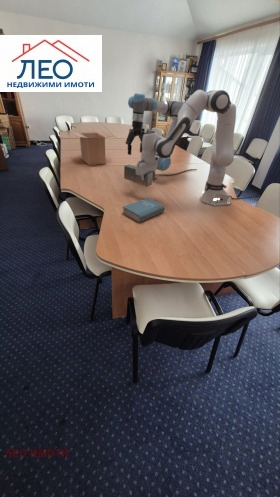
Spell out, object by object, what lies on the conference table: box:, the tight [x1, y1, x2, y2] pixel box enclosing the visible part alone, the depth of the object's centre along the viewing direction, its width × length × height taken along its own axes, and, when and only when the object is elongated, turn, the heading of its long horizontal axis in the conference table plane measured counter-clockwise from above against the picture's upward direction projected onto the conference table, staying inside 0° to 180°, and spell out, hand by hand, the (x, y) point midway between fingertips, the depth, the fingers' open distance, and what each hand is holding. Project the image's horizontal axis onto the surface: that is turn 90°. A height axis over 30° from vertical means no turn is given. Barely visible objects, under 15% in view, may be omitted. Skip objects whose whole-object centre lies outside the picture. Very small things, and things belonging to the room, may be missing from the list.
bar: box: [123, 164, 153, 188], centre depth 159 cm, size 22×5×10 cm, turn 51°
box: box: [70, 129, 114, 166], centre depth 229 cm, size 44×36×27 cm
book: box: [122, 197, 165, 224], centre depth 146 cm, size 23×16×5 cm
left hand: (135, 153), depth 164 cm, fingers open, 13 cm apart
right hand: (146, 178), depth 156 cm, fingers closed on bar, 5 cm apart
